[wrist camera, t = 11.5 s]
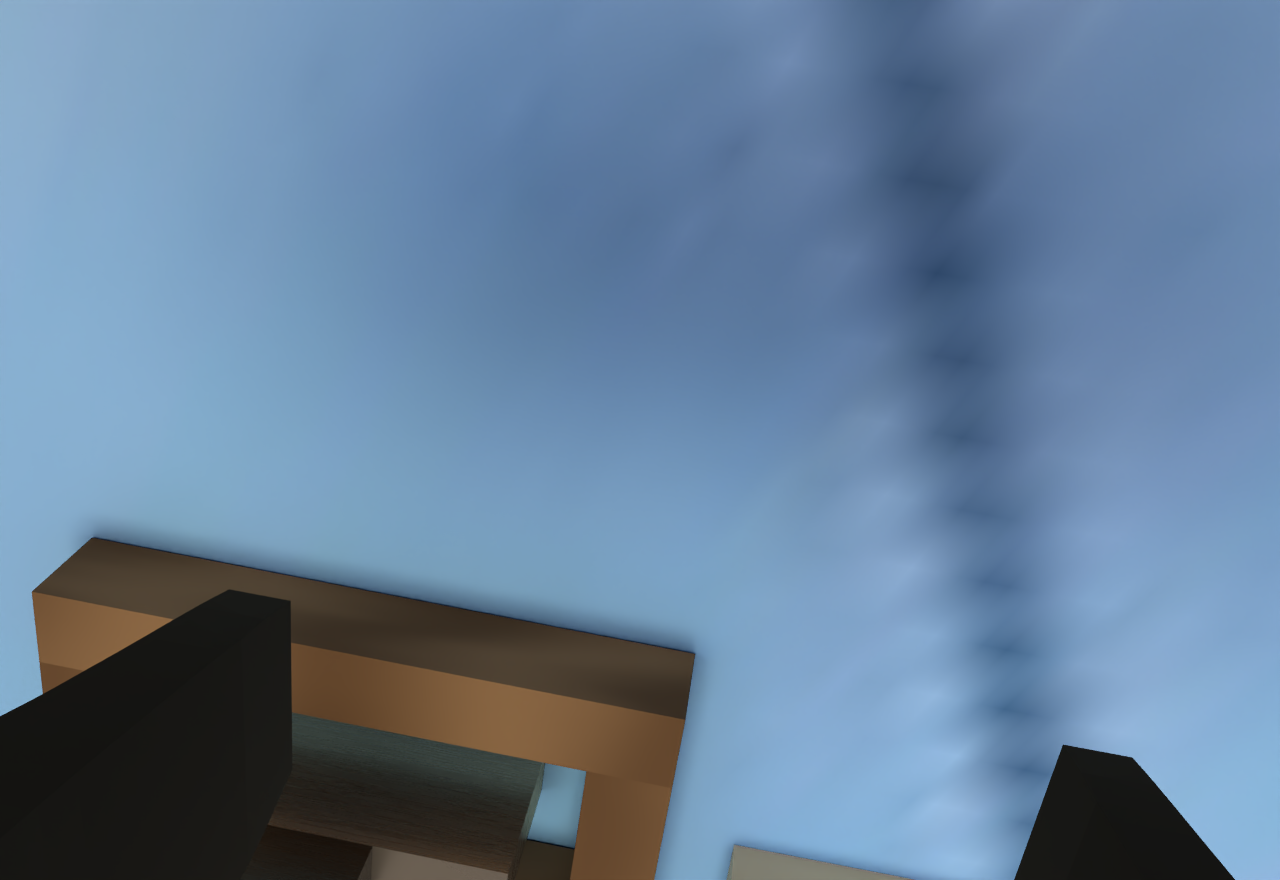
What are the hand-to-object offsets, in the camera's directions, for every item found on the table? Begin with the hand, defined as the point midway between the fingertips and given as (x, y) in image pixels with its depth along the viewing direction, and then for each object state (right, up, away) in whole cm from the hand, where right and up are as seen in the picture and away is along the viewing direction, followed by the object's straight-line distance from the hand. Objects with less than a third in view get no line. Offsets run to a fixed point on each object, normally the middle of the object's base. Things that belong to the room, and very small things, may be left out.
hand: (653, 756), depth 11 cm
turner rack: (-6, -3, +14) cm, 15 cm away
